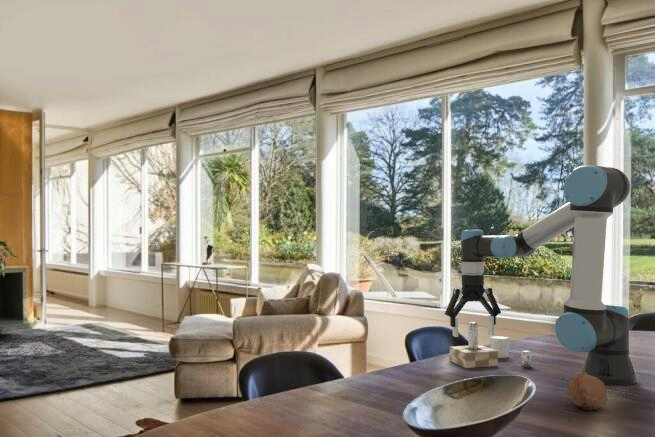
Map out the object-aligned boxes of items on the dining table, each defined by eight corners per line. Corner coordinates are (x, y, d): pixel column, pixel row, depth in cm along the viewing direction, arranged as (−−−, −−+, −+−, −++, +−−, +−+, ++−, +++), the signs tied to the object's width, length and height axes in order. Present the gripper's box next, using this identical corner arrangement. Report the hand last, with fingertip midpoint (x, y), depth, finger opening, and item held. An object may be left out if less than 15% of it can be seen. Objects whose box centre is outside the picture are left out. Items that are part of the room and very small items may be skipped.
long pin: (479, 364, 213) (479, 323, 213) (471, 364, 212) (471, 323, 212) (475, 362, 216) (475, 321, 216) (467, 362, 215) (466, 322, 215)
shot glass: (511, 358, 222) (511, 338, 222) (492, 358, 222) (492, 338, 222) (506, 354, 229) (506, 335, 229) (488, 354, 229) (488, 335, 229)
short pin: (533, 366, 208) (533, 352, 208) (524, 367, 207) (524, 352, 207) (527, 364, 211) (527, 350, 211) (519, 365, 210) (519, 350, 210)
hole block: (497, 365, 210) (497, 351, 210) (465, 368, 207) (465, 353, 207) (480, 358, 221) (480, 344, 221) (449, 360, 218) (449, 346, 218)
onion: (579, 416, 163) (574, 377, 168) (616, 412, 157) (609, 373, 162) (564, 409, 157) (559, 370, 162) (602, 405, 151) (595, 365, 156)
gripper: (499, 272, 221) (499, 332, 221) (434, 274, 215) (435, 335, 214) (510, 273, 214) (511, 335, 214) (444, 275, 208) (445, 339, 207)
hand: (473, 335), depth 214 cm, fingers open, 13 cm apart
